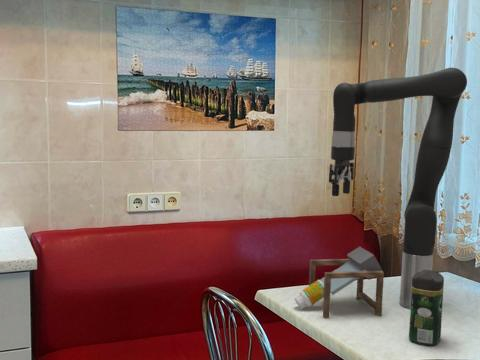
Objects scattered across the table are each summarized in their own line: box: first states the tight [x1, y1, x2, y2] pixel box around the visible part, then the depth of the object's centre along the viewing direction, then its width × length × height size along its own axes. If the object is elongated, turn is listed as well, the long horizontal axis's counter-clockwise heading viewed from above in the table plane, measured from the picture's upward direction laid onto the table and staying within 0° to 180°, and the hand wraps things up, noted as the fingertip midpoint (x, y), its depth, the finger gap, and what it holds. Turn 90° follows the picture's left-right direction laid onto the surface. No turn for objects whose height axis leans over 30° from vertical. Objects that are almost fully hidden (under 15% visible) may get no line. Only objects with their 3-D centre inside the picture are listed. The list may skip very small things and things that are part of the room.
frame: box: [308, 258, 385, 319], centre depth 167 cm, size 18×16×14 cm
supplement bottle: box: [294, 279, 324, 310], centre depth 167 cm, size 5×5×10 cm
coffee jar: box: [408, 270, 445, 346], centre depth 144 cm, size 10×8×19 cm
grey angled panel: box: [319, 246, 383, 296], centre depth 167 cm, size 17×12×6 cm
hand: (340, 194), depth 177 cm, fingers open, 8 cm apart
